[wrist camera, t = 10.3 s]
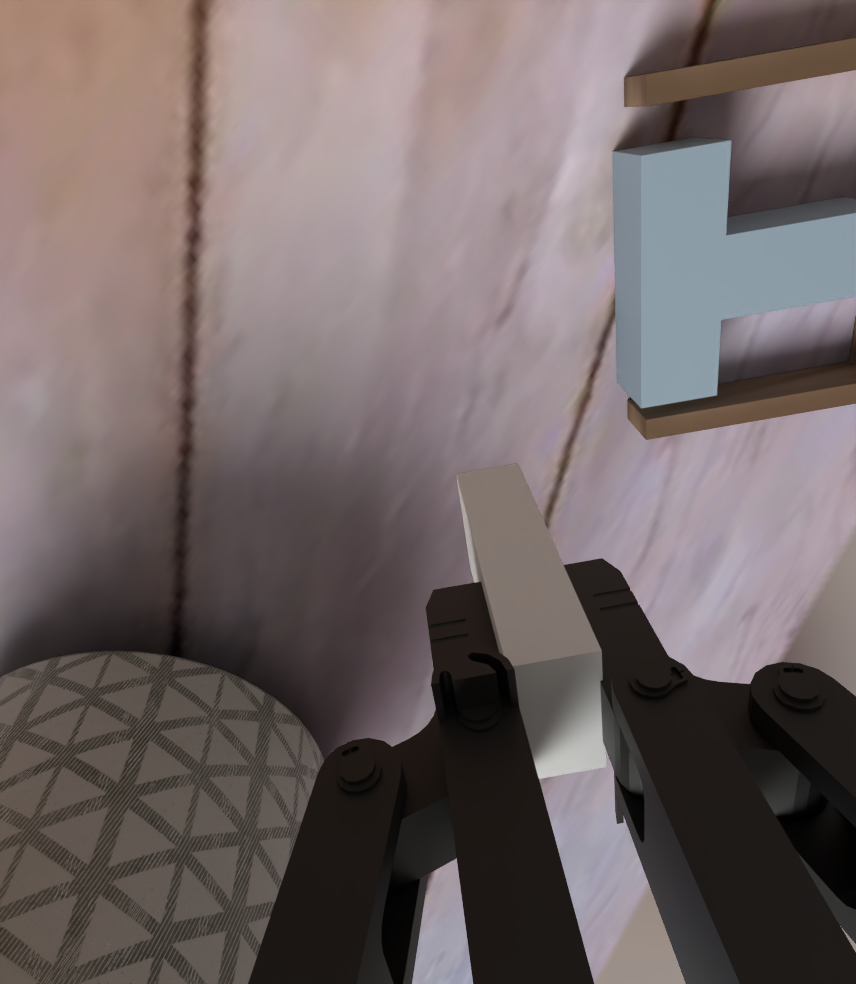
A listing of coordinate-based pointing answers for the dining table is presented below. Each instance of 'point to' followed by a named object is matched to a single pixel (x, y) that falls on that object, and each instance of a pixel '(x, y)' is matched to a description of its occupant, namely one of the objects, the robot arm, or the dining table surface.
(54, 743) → the planter
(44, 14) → the dining table surface
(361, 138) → the dining table surface
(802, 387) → the frame
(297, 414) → the dining table surface
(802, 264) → the t block
